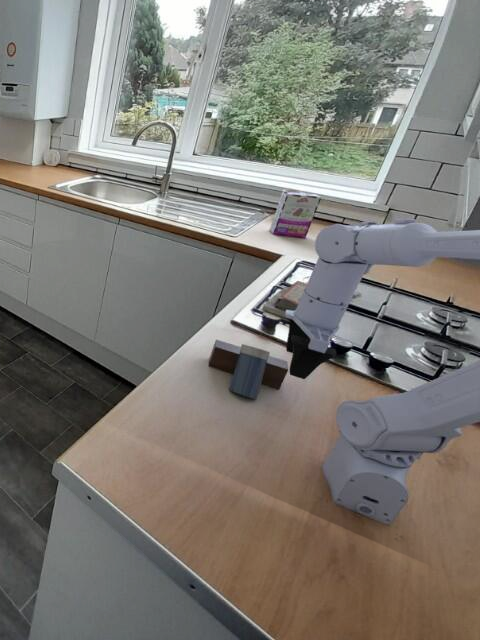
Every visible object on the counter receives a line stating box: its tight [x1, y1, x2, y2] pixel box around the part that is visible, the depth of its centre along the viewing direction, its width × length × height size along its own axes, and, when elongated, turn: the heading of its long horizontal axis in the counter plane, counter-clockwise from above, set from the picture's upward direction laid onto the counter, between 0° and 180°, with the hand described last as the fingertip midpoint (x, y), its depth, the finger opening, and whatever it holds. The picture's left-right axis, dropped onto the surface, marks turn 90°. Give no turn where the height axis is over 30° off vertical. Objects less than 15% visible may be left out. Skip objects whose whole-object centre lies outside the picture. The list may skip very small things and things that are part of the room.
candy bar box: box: [269, 190, 322, 239], centre depth 157 cm, size 11×5×16 cm, turn 73°
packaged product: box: [262, 280, 308, 320], centre depth 107 cm, size 18×5×10 cm
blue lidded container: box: [228, 343, 271, 400], centre depth 76 cm, size 8×4×10 cm, turn 148°
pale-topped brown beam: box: [207, 339, 289, 391], centre depth 81 cm, size 3×12×6 cm, turn 58°
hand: (295, 363), depth 71 cm, fingers open, 7 cm apart
